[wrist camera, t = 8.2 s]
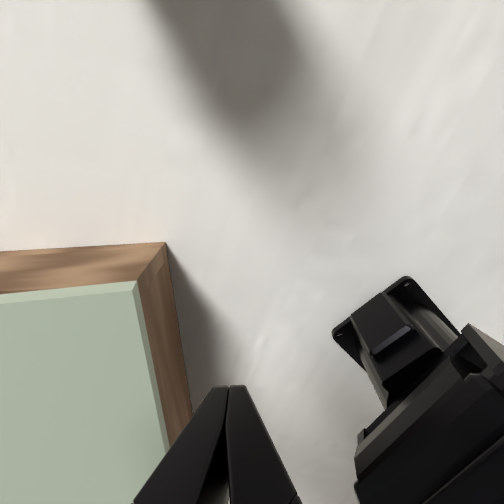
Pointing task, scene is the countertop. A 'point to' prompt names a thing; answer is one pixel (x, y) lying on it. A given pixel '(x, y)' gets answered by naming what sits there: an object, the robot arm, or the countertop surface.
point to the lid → (77, 396)
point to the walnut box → (112, 271)
